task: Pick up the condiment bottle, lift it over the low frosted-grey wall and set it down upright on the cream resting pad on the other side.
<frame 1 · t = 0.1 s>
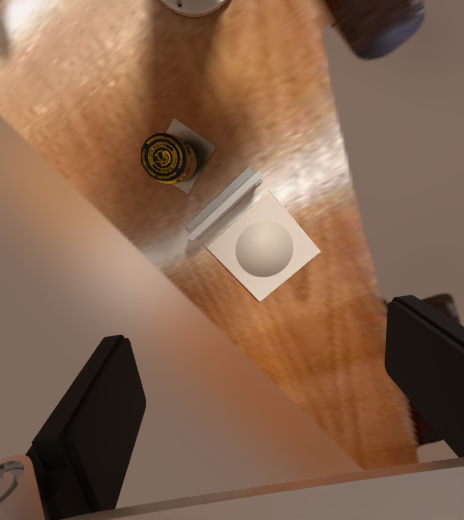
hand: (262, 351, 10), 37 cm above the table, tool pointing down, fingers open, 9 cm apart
resting pad: (264, 249, 47), on the table
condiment: (181, 157, 43), on the table
low wall: (223, 203, 45), on the table
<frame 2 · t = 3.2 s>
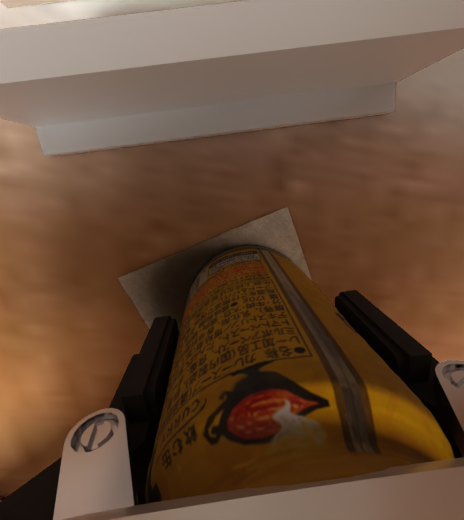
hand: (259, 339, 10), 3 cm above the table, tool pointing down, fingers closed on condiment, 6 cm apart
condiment: (230, 304, 14), on the table, touching gripper
low wall: (216, 94, 11), on the table
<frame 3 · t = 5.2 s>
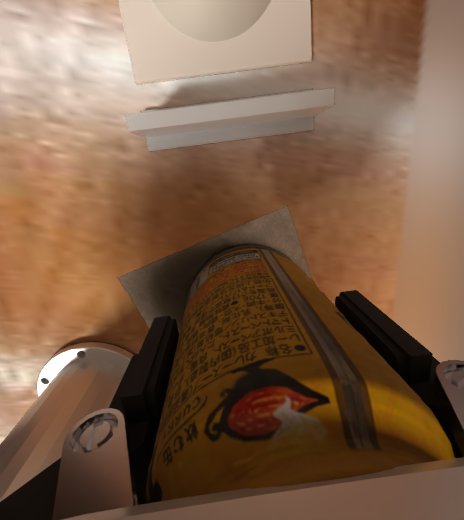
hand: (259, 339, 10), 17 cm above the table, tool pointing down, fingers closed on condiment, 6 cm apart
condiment: (231, 303, 14), point 13 cm above the table, touching gripper
low wall: (228, 121, 23), on the table
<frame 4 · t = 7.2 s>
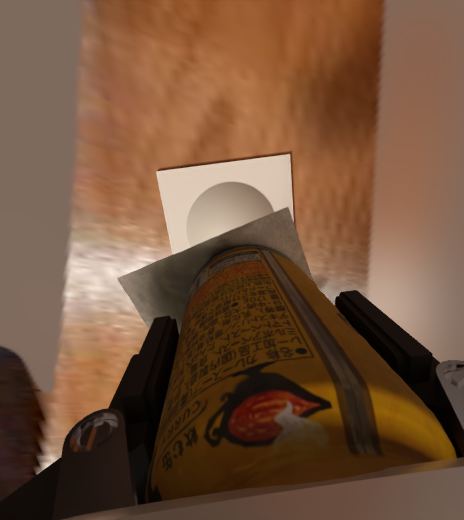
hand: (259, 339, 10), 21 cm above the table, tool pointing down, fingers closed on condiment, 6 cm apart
resting pad: (231, 228, 31), on the table
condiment: (231, 304, 14), point 18 cm above the table, touching gripper
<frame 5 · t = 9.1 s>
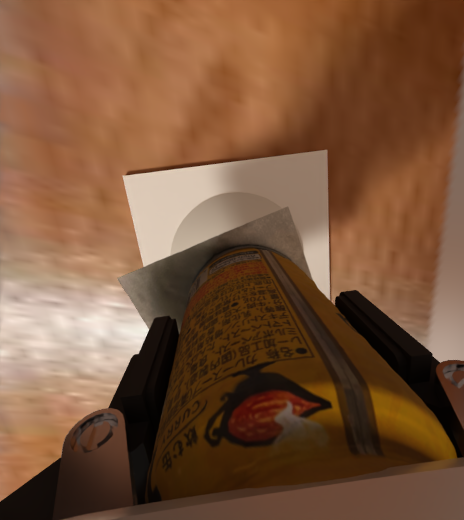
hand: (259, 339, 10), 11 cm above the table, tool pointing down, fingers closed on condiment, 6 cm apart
resting pad: (237, 258, 21), on the table
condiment: (231, 304, 14), point 7 cm above the table, touching gripper
when the fingers open (5 cm above the table, at t = 10.8 s): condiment drops 1 cm, resting on resting pad.
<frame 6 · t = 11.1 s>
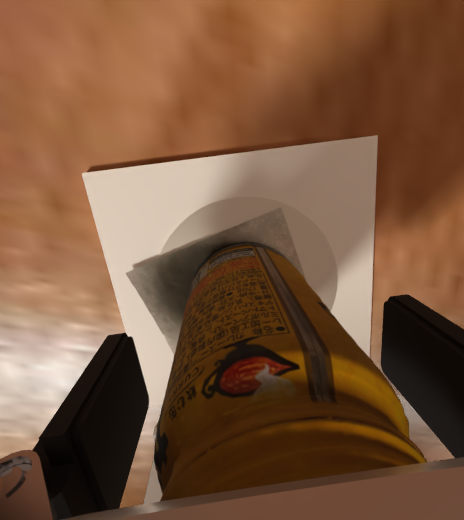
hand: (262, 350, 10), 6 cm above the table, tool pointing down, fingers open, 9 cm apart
resting pad: (245, 287, 15), on the table
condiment: (229, 297, 15), resting on resting pad
low wall: (262, 429, 19), on the table
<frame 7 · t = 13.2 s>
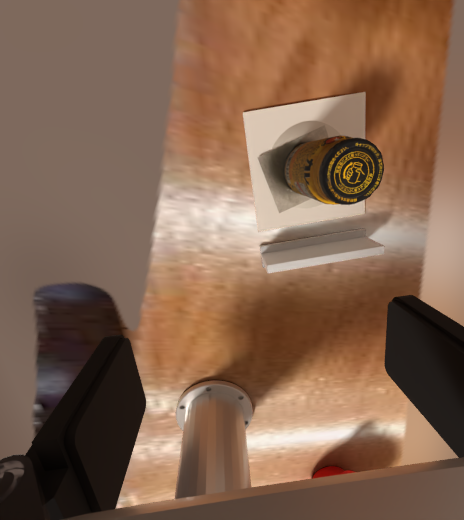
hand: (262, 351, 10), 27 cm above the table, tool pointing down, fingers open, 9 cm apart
ceramic cup: (330, 469, 53), on the table
resting pad: (307, 166, 34), on the table
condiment: (300, 171, 33), resting on resting pad
low wall: (312, 247, 37), on the table
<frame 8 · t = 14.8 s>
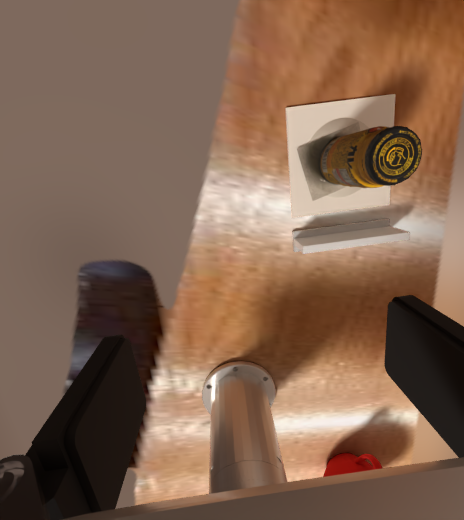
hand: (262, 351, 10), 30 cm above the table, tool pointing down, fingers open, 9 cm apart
ceramic cup: (344, 456, 54), on the table
resting pad: (339, 159, 37), on the table
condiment: (333, 163, 37), resting on resting pad
low wall: (339, 234, 40), on the table
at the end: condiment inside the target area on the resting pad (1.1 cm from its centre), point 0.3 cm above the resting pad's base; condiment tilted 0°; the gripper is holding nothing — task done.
